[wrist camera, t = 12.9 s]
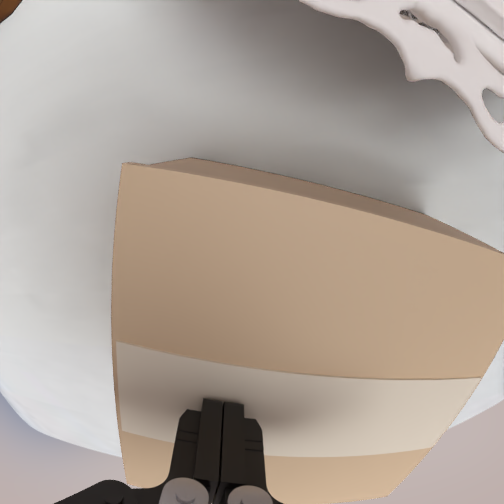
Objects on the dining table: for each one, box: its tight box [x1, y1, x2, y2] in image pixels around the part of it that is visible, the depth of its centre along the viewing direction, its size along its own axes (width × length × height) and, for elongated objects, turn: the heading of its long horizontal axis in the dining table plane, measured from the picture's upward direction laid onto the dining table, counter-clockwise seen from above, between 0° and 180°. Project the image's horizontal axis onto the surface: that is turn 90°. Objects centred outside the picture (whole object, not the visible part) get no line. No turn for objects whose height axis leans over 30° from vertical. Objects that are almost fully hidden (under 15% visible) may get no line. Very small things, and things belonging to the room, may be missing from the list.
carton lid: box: [111, 162, 504, 504], centre depth 11 cm, size 16×16×1 cm
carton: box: [151, 158, 499, 251], centre depth 17 cm, size 16×16×10 cm
